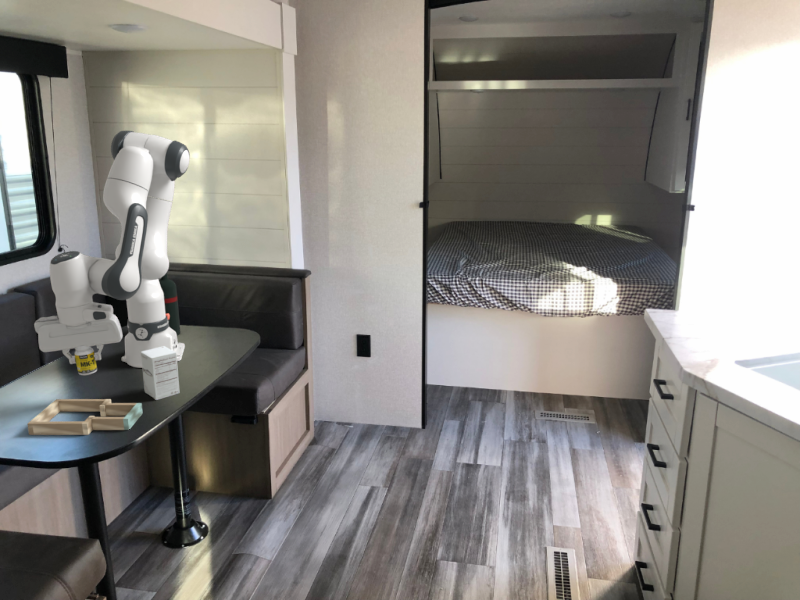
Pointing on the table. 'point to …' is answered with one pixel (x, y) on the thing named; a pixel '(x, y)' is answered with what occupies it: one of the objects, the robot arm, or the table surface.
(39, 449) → the table surface
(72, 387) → the table surface
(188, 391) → the table surface
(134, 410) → the keyhole corral
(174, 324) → the wine bottle
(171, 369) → the supplement box
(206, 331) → the table surface
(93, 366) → the supplement bottle
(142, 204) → the robot arm
